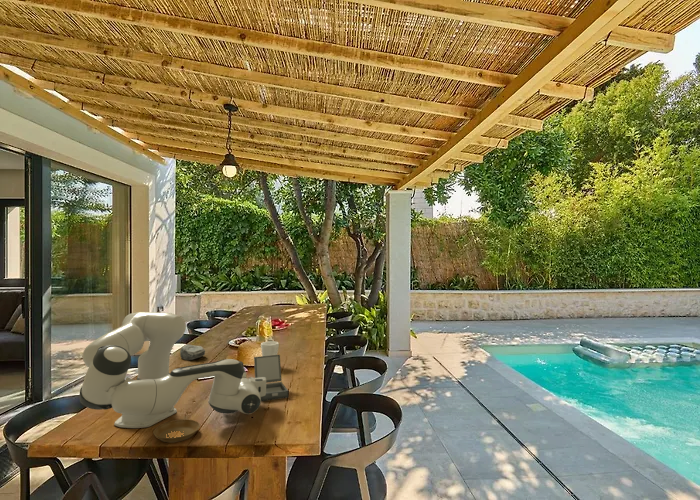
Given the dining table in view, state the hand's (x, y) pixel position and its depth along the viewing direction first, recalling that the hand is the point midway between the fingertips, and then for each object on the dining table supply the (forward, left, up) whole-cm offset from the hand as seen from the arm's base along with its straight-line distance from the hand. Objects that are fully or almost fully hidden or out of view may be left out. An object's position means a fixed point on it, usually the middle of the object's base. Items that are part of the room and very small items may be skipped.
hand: (238, 380), depth 175 cm
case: (+11, -10, -9) cm, 17 cm away
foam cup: (+50, +3, -9) cm, 51 cm away
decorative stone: (+62, +53, -9) cm, 82 cm away
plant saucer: (-34, +9, -9) cm, 36 cm away
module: (-1, 0, -8) cm, 8 cm away
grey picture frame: (+15, -8, +1) cm, 17 cm away
